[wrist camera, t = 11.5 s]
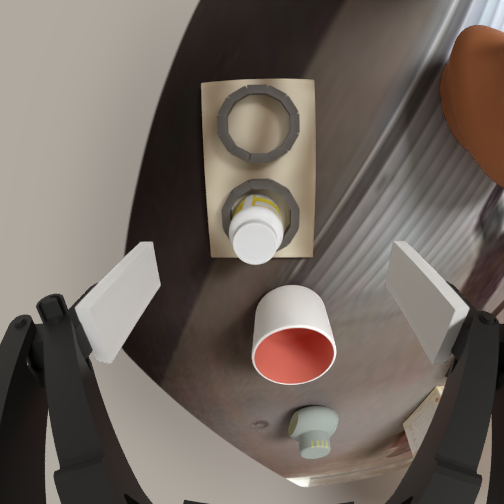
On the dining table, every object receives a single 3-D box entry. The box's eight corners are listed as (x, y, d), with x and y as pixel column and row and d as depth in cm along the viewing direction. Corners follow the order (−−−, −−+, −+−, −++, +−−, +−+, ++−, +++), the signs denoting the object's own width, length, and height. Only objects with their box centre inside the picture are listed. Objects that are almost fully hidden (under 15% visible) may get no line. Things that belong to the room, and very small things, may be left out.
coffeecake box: (420, 422, 53) (440, 480, 35) (401, 423, 53) (419, 486, 35) (454, 384, 47) (484, 446, 29) (435, 385, 47) (465, 452, 29)
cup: (325, 332, 42) (336, 379, 32) (261, 340, 43) (259, 388, 34) (321, 275, 38) (336, 319, 29) (249, 286, 39) (243, 331, 30)
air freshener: (300, 397, 48) (303, 440, 39) (339, 400, 48) (347, 440, 39) (285, 425, 52) (286, 463, 43) (321, 427, 53) (324, 464, 43)
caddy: (312, 81, 28) (316, 77, 26) (311, 254, 37) (314, 262, 34) (203, 84, 29) (198, 80, 27) (212, 254, 38) (209, 262, 35)
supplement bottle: (243, 241, 35) (234, 277, 26) (229, 200, 34) (215, 224, 24) (285, 229, 35) (291, 263, 26) (273, 187, 33) (275, 207, 24)
